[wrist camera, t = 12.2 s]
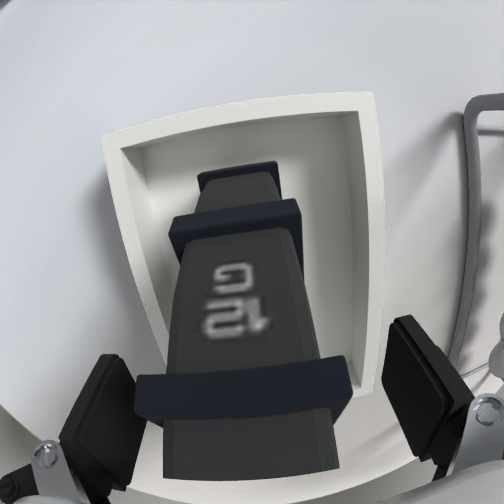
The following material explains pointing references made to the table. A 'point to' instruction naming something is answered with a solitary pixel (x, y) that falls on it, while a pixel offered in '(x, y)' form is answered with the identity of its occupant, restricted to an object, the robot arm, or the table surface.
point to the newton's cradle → (476, 229)
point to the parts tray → (292, 186)
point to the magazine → (243, 341)
